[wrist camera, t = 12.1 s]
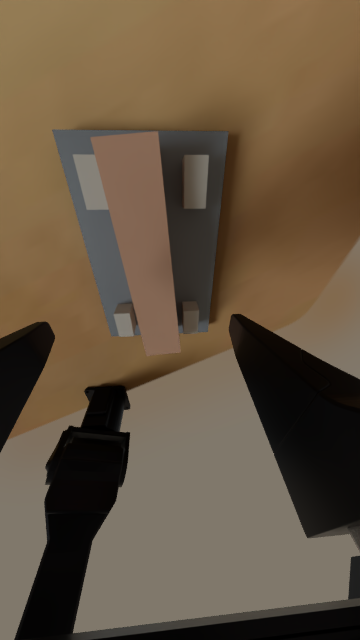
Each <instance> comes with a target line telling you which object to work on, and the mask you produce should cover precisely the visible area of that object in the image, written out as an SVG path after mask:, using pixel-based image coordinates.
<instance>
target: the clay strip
mask: <svg viewBox="0 0 360 640" xmlns="http://www.w3.org/2000/svg"><path fill="white" fill-rule="evenodd" d="M90 138H91V142H92V146H93V150H94V154H95V158H96V162H97V166H98V169H99V173H100V177H101V181H102V185H103V189H104V193H105V197H106V201H107V204H108V208H109V212H110V216H111V220H112V224H113V228H114V232H115V235H116V239H117V243H118V247H119V251H120V255H121V259H122V263H123V267H124V270H125V274H126V278H127V282H128V286H129V290H130V294H131V298H132V302H133V305H134V309H135V313H136V317H137V321H138V325H139V329H140V333H141V336H142V340H143V344H144V348H145V352H146V356H150V355H160V354H170V353H180V352H181V351H180V340H179V329H178V319H177V310H176V300H175V290H174V280H173V270H172V260H171V250H170V241H169V231H168V221H167V211H166V201H165V191H164V182H163V172H162V162H161V152H160V143H159V135H158V131H153V132H142V133H131V134H120V135H108V136H97V137H90Z"/></svg>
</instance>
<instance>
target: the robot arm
mask: <svg viewBox="0 0 360 640" xmlns="http://www.w3.org/2000/svg"><path fill="white" fill-rule="evenodd" d="M229 333H230V337H231V341H232V345H233V348H234V352H235V356H236V359H237V361H238V364H239V367H240V369H241V372H242V374H243V377H244V379H245V382H246V384H247V387H248V390H249V392H250V395H251V397H252V400H253V402H254V405H255V407H256V410H257V412H258V415H259V417H260V420H261V422H262V425H263V428H264V430H265V433H266V435H267V438H268V440H269V443H270V445H271V448H272V450H273V453H274V456H275V458H276V461H277V463H278V466H279V468H280V471H281V474H282V476H283V479H284V481H285V484H286V486H287V489H288V492H289V494H290V496H291V499H292V502H293V504H294V507H295V509H296V512H297V514H298V517H299V520H300V522H301V525H302V527H303V530H304V532H305V534H306V536H307V538H316V537H325V536H335V535H344V534H350V535H351V536H352V538H353V540H354V542H355V544H356V546H357V548H358V549H359V551H360V379H358V378H356V377H354V376H352V375H350V374H348V373H346V372H344V371H342V370H340V369H338V368H336V367H334V366H332V365H330V364H328V363H326V362H324V361H322V360H321V359H319V358H317V357H315V356H313V355H311V354H310V353H308V352H306V351H305V350H301V348H299V347H297V346H296V345H294V344H292V343H290V342H289V341H287V340H285V339H283V338H282V337H280V336H278V335H276V334H275V333H273V332H271V331H269V330H268V329H266V328H264V327H262V326H261V325H259V324H257V323H255V322H254V321H252V320H250V319H248V318H247V317H245V316H243V315H241V314H232V316H231V320H230V325H229ZM54 340H55V335H54V333H53V331H52V329H51V327H50V325H49V323H47V322H36V323H34V324H31V325H29V326H27V327H25V328H23V329H20V330H18V331H16V332H14V333H12V334H9V335H7V336H5V337H3V338H1V339H0V452H1V450H2V448H3V446H4V445H5V443H6V441H7V439H8V437H9V435H10V433H11V431H12V429H13V427H14V425H15V423H16V421H17V419H18V417H19V415H20V413H21V411H22V409H23V408H24V406H25V404H26V402H27V400H28V398H29V396H30V394H31V392H32V390H33V388H34V386H35V384H36V382H37V380H38V378H39V376H40V374H41V372H42V370H43V368H44V366H45V364H46V361H47V359H48V356H49V353H50V351H51V348H52V346H53V343H54ZM84 392H85V394H86V396H87V398H88V400H89V405H88V408H87V411H86V413H85V416H84V419H83V422H82V425H81V427H73V426H69V427H68V429H67V430H65V431H63V433H62V435H61V437H60V440H59V442H58V444H57V446H56V448H55V450H54V451H53V453H52V455H51V456H50V458H49V460H48V462H47V464H46V470H47V479H46V485H50V486H49V489H48V492H47V494H46V497H45V502H44V503H45V518H46V530H47V545H46V548H45V550H44V553H43V557H42V559H41V562H40V566H39V568H38V571H37V574H36V577H35V580H34V583H33V586H32V589H31V592H30V595H29V598H28V601H27V604H26V607H25V610H24V613H23V616H22V619H21V622H20V625H19V627H18V631H17V633H16V637H15V639H14V640H360V556H355V557H351V567H350V582H349V597H348V600H341V601H333V602H325V603H316V604H308V605H301V606H292V607H284V608H276V609H268V610H260V611H252V612H243V613H236V614H228V615H219V616H211V617H203V618H195V619H187V620H179V621H171V622H162V623H155V624H146V625H138V626H131V627H123V628H114V629H106V630H98V631H90V632H82V633H73V629H74V624H75V620H76V614H77V610H78V606H79V601H80V596H81V591H82V587H83V582H84V577H85V573H86V568H87V563H88V559H89V554H90V550H91V545H92V540H93V539H94V537H95V535H96V534H97V532H98V530H99V529H100V527H101V525H102V523H103V522H104V520H105V519H106V517H107V515H108V514H109V512H110V510H111V508H112V507H113V505H114V504H115V501H116V498H117V492H118V487H122V485H123V482H124V478H125V474H126V469H127V463H128V452H129V440H130V432H126V433H124V432H119V431H120V426H121V420H122V416H123V411H124V410H128V409H130V403H129V400H128V396H127V393H126V389H125V387H124V386H114V387H97V388H86V389H85V391H84Z"/></svg>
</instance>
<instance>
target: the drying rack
mask: <svg viewBox="0 0 360 640" xmlns="http://www.w3.org/2000/svg"><path fill="white" fill-rule="evenodd" d="M52 131H53V134H54V138H55V141H56V145H57V148H58V152H59V155H60V159H61V162H62V166H63V169H64V173H65V176H66V180H67V183H68V186H69V190H70V193H71V197H72V200H73V204H74V207H75V211H76V214H77V218H78V221H79V225H80V228H81V232H82V235H83V239H84V242H85V246H86V249H87V253H88V256H89V260H90V263H91V267H92V270H93V274H94V277H95V280H96V284H97V287H98V291H99V294H100V298H101V301H102V305H103V308H104V312H105V315H106V319H107V322H108V326H109V329H110V333H111V336H119V337H125V336H134V335H141V333H140V329H139V325H138V321H137V317H136V313H135V309H134V305H133V302H132V298H131V294H130V290H129V286H128V282H127V278H126V274H125V270H124V267H123V263H122V259H121V255H120V251H119V247H118V243H117V239H116V235H115V232H114V228H113V224H112V220H111V216H110V212H109V208H108V204H107V201H106V197H105V193H104V189H103V185H102V181H101V177H100V173H99V169H98V166H97V162H96V158H95V154H94V150H93V146H92V142H91V138H90V137H97V136H108V135H120V134H131V133H142V132H153V131H140V130H52ZM158 135H159V143H160V152H161V162H162V172H163V182H164V191H165V201H166V211H167V221H168V231H169V241H170V250H171V260H172V270H173V280H174V290H175V300H176V310H177V319H178V329H179V333H183V334H191V333H198V332H208V324H209V314H210V305H211V295H212V285H213V276H214V266H215V256H216V247H217V237H218V227H219V218H220V208H221V198H222V189H223V179H224V169H225V160H226V150H227V140H228V131H158Z"/></svg>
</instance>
